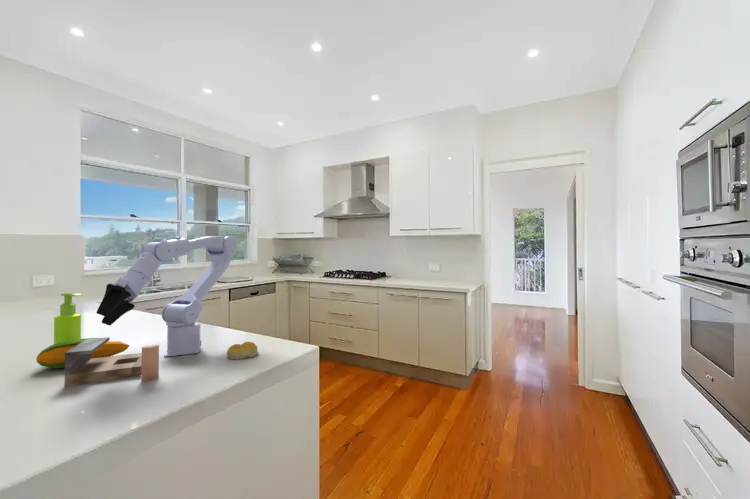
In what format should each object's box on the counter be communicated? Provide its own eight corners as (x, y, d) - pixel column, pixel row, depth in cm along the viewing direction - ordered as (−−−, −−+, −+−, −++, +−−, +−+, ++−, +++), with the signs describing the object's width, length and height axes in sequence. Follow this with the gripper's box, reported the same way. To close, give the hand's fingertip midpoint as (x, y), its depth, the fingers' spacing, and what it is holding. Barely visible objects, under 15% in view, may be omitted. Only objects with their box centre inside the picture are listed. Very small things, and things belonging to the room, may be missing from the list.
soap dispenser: (66, 362, 94) (67, 294, 94) (48, 361, 95) (49, 293, 95) (88, 356, 99) (88, 292, 100) (70, 355, 101) (71, 291, 101)
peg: (159, 374, 84) (160, 344, 84) (157, 379, 80) (157, 347, 81) (143, 377, 82) (143, 345, 82) (140, 382, 79) (140, 349, 79)
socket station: (151, 360, 95) (151, 333, 96) (140, 375, 83) (141, 344, 83) (86, 368, 89) (86, 339, 89) (64, 386, 76) (64, 352, 76)
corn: (39, 340, 90) (129, 329, 102) (39, 366, 90) (129, 353, 102) (33, 348, 84) (129, 335, 96) (33, 376, 84) (129, 360, 96)
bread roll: (224, 355, 101) (224, 342, 101) (253, 350, 106) (253, 338, 106) (229, 362, 94) (229, 348, 94) (260, 356, 99) (260, 343, 99)
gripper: (125, 281, 95) (91, 322, 86) (119, 258, 84) (80, 303, 76) (150, 290, 97) (119, 331, 88) (147, 269, 86) (112, 314, 78)
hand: (103, 319), depth 82 cm, fingers open, 7 cm apart
